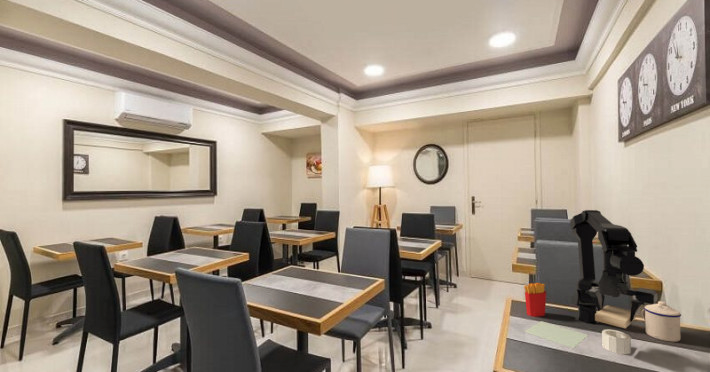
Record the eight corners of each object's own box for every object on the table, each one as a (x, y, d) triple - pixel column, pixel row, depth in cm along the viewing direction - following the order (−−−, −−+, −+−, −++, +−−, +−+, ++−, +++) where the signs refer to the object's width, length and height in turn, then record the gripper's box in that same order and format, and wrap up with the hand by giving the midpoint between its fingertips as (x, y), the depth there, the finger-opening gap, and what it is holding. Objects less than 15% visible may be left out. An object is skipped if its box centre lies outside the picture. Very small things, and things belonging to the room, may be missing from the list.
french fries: (540, 312, 131) (539, 280, 131) (549, 316, 127) (548, 283, 127) (521, 315, 128) (521, 282, 129) (530, 319, 124) (529, 285, 124)
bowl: (606, 343, 105) (605, 327, 105) (633, 351, 100) (632, 335, 100) (599, 349, 101) (599, 333, 101) (627, 358, 95) (627, 341, 95)
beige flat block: (606, 311, 107) (606, 305, 107) (635, 318, 101) (635, 311, 101) (595, 320, 99) (595, 314, 99) (625, 328, 94) (625, 321, 94)
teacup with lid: (689, 342, 105) (689, 306, 105) (661, 342, 105) (661, 307, 105) (655, 326, 117) (655, 294, 117) (630, 326, 117) (629, 294, 117)
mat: (541, 322, 121) (541, 321, 121) (588, 336, 109) (588, 335, 109) (524, 333, 112) (524, 331, 112) (573, 349, 101) (573, 348, 101)
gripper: (571, 265, 103) (571, 314, 103) (649, 278, 88) (650, 335, 88) (583, 260, 110) (583, 306, 110) (657, 271, 95) (658, 324, 95)
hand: (615, 317), depth 100 cm, fingers closed on beige flat block, 7 cm apart
